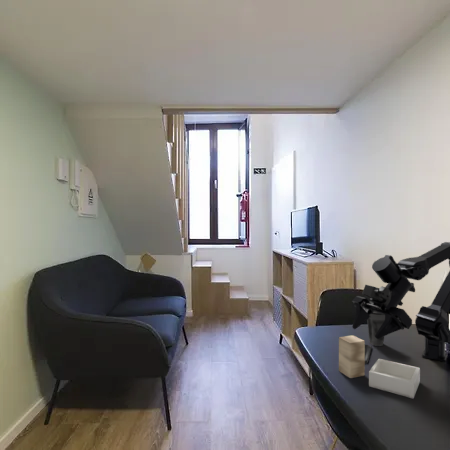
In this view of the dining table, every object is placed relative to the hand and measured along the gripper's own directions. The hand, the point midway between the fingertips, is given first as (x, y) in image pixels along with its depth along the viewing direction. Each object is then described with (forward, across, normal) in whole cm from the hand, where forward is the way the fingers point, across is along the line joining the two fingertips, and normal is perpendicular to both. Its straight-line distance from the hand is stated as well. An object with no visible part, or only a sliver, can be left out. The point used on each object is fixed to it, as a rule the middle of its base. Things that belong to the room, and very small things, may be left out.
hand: (364, 332), depth 102 cm
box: (+7, +10, +9) cm, 15 cm away
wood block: (+11, 0, +5) cm, 12 cm away
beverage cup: (-6, -16, +22) cm, 28 cm away
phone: (+3, -11, +13) cm, 18 cm away
